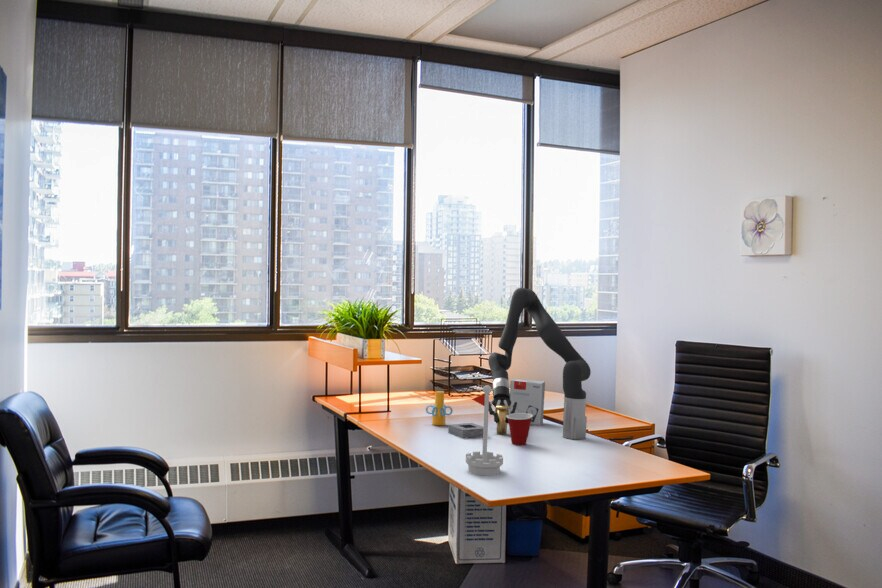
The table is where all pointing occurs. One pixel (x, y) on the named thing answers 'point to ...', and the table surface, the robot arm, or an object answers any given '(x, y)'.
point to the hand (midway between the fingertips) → (502, 422)
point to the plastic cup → (519, 427)
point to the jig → (466, 430)
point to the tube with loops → (439, 409)
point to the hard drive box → (528, 398)
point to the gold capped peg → (502, 419)
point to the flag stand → (484, 445)
